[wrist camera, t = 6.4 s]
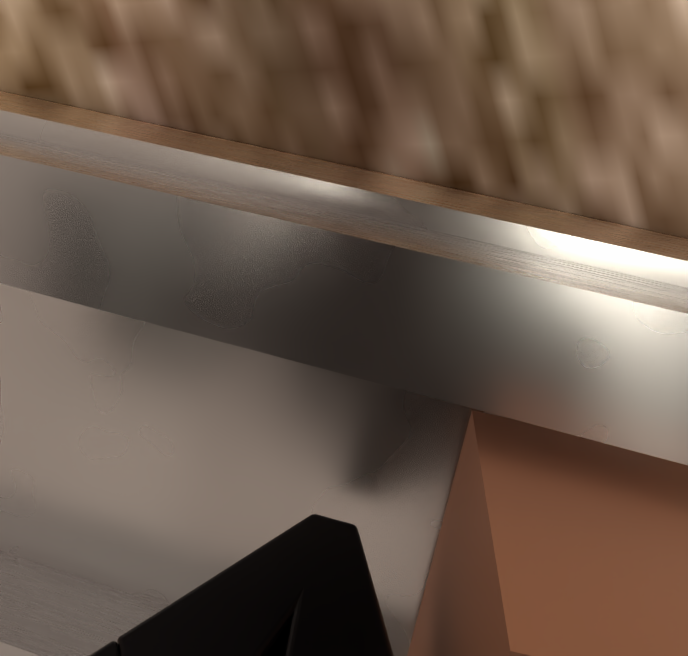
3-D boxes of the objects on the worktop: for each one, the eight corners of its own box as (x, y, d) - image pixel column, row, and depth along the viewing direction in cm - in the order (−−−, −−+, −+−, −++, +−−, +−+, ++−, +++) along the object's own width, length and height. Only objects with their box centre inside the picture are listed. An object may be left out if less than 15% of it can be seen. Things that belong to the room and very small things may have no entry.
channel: (549, 683, 13) (575, 953, 9) (-98, 475, 15) (-332, 608, 11) (714, 244, 10) (875, 323, 6) (-111, 67, 12) (-431, 30, 8)
